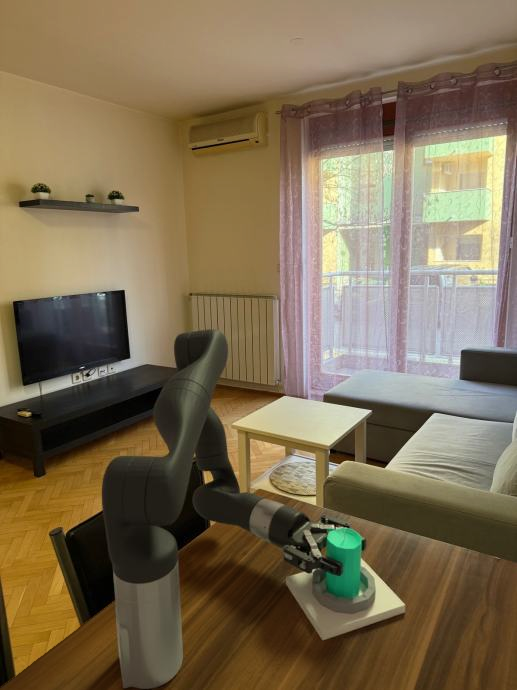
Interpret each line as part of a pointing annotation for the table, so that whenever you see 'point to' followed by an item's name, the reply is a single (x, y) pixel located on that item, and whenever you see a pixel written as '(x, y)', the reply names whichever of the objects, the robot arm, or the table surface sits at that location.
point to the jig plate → (343, 620)
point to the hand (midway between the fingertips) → (354, 557)
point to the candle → (344, 562)
